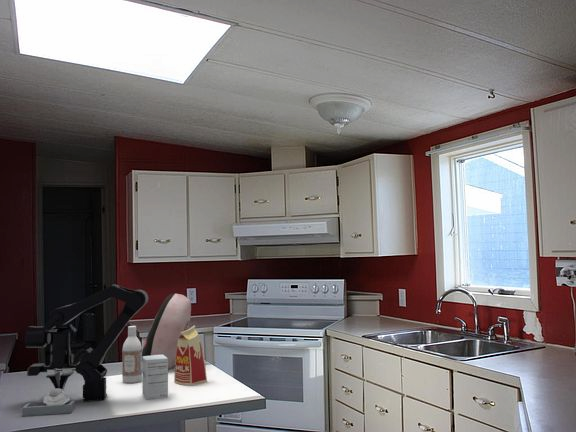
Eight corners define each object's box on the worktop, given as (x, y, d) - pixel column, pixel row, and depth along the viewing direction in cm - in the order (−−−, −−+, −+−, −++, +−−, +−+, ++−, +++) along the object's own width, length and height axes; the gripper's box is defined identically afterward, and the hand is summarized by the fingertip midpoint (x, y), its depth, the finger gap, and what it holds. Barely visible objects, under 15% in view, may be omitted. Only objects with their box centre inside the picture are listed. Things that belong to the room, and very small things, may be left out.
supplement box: (141, 394, 181) (141, 356, 182) (164, 391, 184) (164, 353, 185) (145, 399, 175) (145, 359, 175) (168, 397, 177) (168, 357, 178)
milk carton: (191, 378, 203) (190, 324, 205) (208, 381, 198) (207, 325, 199) (171, 383, 196) (171, 327, 198) (188, 386, 190) (188, 328, 192)
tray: (74, 408, 166) (74, 400, 167) (71, 412, 162) (71, 404, 162) (27, 411, 164) (27, 403, 164) (22, 416, 159) (22, 407, 160)
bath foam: (119, 383, 197) (119, 327, 198) (126, 379, 204) (126, 325, 205) (138, 383, 197) (138, 327, 198) (144, 379, 204) (144, 324, 205)
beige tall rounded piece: (148, 362, 234) (148, 292, 236) (194, 361, 235) (193, 291, 237) (137, 374, 212) (137, 296, 214) (188, 372, 214) (187, 295, 215)
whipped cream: (72, 403, 176) (73, 387, 177) (67, 406, 170) (69, 390, 170) (46, 402, 175) (47, 387, 176) (40, 406, 168) (42, 390, 169)
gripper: (95, 341, 186) (95, 387, 186) (37, 343, 184) (37, 390, 183) (88, 347, 175) (88, 396, 175) (26, 349, 173) (26, 399, 172)
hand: (60, 395), depth 176 cm, fingers closed
